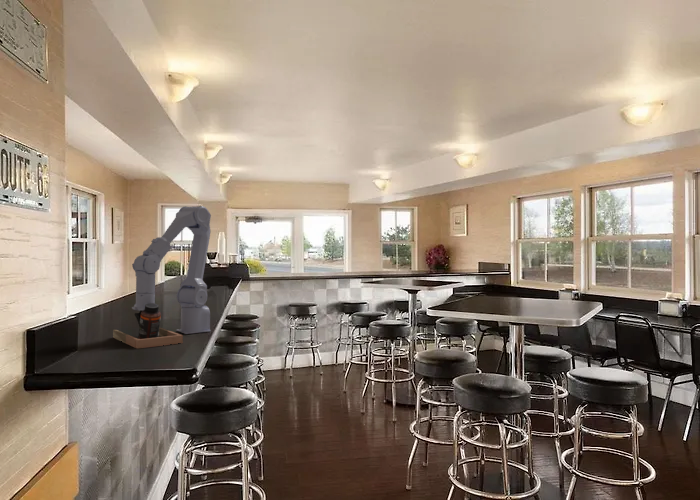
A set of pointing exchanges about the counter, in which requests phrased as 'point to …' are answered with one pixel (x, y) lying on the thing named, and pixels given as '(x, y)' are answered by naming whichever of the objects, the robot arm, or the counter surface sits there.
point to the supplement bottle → (149, 321)
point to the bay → (149, 339)
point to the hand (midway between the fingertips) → (144, 334)
